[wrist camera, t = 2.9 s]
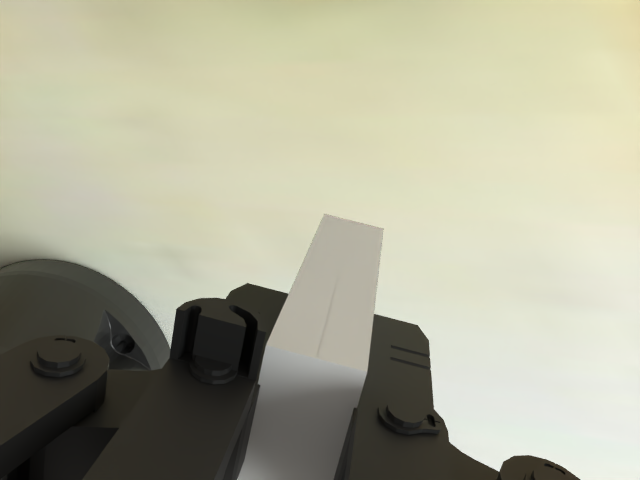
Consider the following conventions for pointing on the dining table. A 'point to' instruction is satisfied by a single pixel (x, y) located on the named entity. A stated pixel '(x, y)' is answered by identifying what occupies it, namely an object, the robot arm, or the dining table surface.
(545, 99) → the dining table surface
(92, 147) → the dining table surface
